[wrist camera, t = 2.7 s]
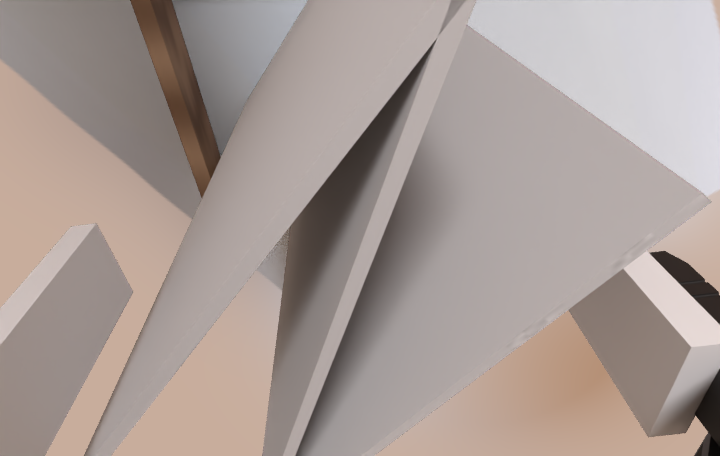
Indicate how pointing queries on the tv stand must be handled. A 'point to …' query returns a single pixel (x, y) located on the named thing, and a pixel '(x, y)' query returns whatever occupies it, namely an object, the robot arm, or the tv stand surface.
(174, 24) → the rack
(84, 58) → the tv stand surface
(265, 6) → the tv stand surface
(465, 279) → the brochure
